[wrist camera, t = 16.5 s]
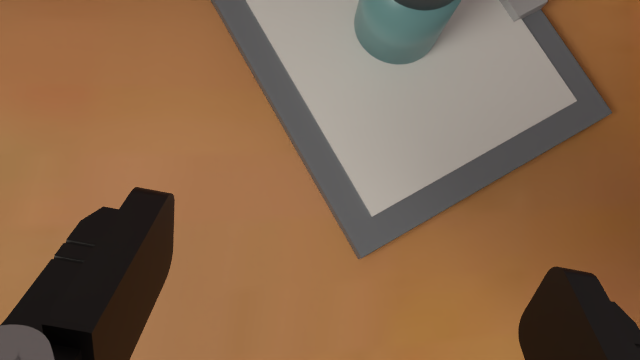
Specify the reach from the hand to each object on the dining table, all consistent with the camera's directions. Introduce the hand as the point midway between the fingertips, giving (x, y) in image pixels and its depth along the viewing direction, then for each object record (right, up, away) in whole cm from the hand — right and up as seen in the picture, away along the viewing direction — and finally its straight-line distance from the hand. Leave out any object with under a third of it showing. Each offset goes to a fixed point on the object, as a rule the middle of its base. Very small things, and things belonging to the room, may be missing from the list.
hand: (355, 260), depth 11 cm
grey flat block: (+3, +10, +18) cm, 21 cm away
